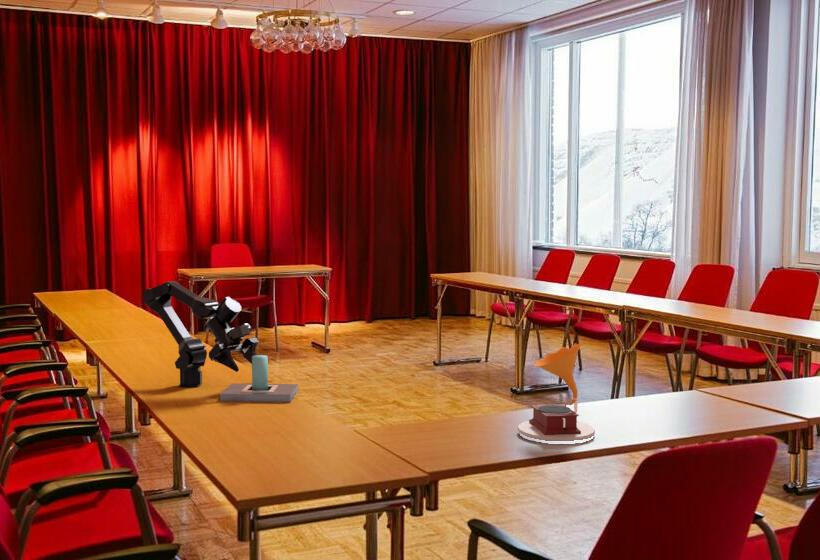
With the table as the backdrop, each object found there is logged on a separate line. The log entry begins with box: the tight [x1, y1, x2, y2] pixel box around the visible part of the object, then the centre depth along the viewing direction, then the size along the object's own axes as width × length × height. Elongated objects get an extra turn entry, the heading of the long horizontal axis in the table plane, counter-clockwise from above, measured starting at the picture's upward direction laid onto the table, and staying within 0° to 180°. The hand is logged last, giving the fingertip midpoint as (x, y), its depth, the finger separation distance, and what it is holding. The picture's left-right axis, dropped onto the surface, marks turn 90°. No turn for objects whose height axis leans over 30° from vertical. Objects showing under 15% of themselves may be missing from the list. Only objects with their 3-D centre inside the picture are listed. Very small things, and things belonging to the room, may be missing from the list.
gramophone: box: [517, 342, 596, 441], centre depth 243 cm, size 20×20×25 cm
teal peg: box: [251, 354, 269, 391], centre depth 289 cm, size 5×5×13 cm
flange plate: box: [219, 382, 299, 403], centre depth 290 cm, size 22×16×3 cm
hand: (247, 368), depth 292 cm, fingers open, 9 cm apart
